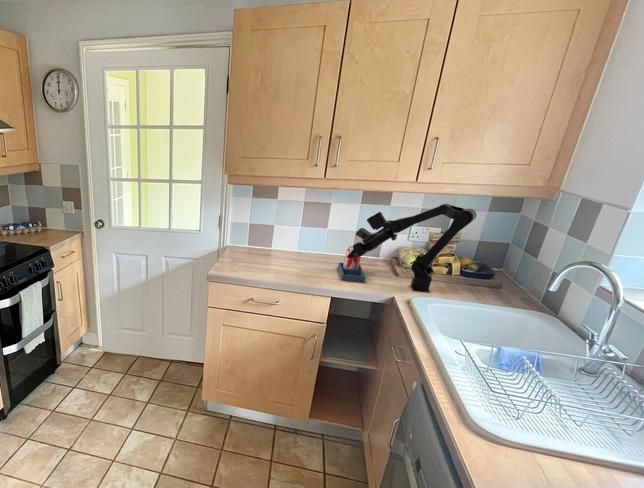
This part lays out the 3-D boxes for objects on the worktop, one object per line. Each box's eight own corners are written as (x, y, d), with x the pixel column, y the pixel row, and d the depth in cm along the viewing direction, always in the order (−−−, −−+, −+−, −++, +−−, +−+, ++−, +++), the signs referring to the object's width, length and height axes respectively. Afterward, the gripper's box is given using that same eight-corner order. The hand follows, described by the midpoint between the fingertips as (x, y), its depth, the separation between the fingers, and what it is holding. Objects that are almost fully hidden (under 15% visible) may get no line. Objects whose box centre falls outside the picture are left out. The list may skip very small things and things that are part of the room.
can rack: (358, 269, 212) (360, 264, 211) (364, 282, 195) (365, 276, 194) (337, 267, 214) (338, 262, 213) (341, 280, 198) (342, 274, 196)
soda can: (339, 268, 211) (343, 246, 206) (352, 268, 212) (356, 245, 207) (347, 273, 205) (352, 250, 200) (360, 272, 206) (365, 249, 201)
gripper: (376, 220, 201) (350, 238, 213) (361, 226, 189) (333, 245, 201) (390, 239, 199) (362, 256, 211) (375, 246, 187) (346, 264, 199)
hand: (351, 255), depth 206 cm, fingers open, 9 cm apart
